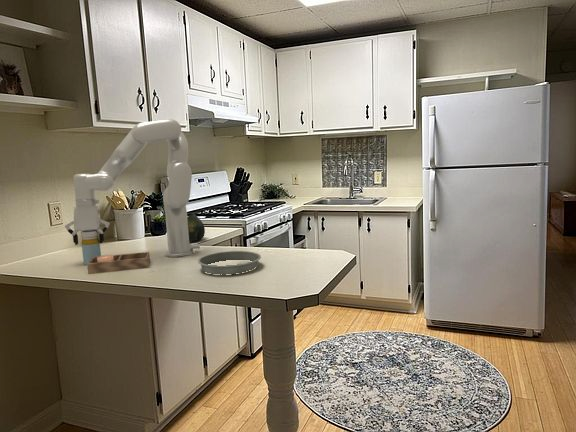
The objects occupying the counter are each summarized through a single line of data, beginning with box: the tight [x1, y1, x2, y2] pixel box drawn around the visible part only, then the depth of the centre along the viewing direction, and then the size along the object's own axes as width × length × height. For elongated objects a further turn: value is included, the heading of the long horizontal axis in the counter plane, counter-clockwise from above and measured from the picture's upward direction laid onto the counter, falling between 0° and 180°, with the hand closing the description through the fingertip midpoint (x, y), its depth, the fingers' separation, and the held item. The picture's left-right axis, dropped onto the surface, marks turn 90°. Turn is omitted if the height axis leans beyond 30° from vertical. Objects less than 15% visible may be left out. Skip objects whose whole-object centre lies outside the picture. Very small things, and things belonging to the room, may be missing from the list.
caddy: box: [87, 251, 151, 275], centre depth 179 cm, size 22×12×5 cm, turn 104°
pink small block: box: [97, 254, 114, 262], centre depth 178 cm, size 6×6×5 cm
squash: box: [187, 213, 206, 243], centre depth 232 cm, size 14×15×15 cm
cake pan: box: [197, 250, 262, 275], centre depth 174 cm, size 25×25×4 cm
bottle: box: [80, 230, 102, 267], centre depth 188 cm, size 7×7×15 cm
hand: (89, 243), depth 187 cm, fingers open, 9 cm apart
